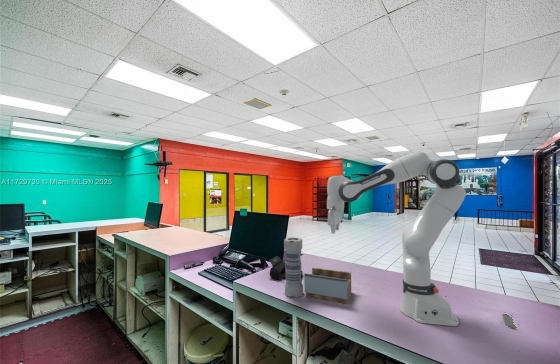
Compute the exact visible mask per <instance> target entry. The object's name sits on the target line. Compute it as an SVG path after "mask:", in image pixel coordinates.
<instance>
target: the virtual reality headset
mask: <svg viewBox="0 0 560 364" xmlns="http://www.w3.org/2000/svg"><path fill="white" fill-rule="evenodd" d="M269 263H270V264H271V268H270V269H269V276H270V278H272V279H276V280H278V281H280V280H284V281H286V266H285V261H282V259H281V258H280V257H279V256H278V255H277V256H274V257H273V258H271V259H269ZM301 279H302V280H303V279H304V273H303V270H302V271H301Z"/></svg>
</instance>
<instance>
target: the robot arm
mask: <svg viewBox="0 0 560 364" xmlns="http://www.w3.org/2000/svg"><path fill="white" fill-rule="evenodd" d="M418 176H423V177H424V178H425V179H426V180H427V181H428V182H430V183H431V184H434V185H435V187H436V188H435V191H434V193H433V195H431V197H430V199H429V200H428V201H427V202H426V204H425V205H424V207H422V209H421V210H420V211H419V212H418V214H417V216H416V218H415V220H414V222H413V223H412V225H411V226H408V227H406V228H405V229H404V230H403V231H402V235H401V236H402V238H401V240H402V241H401V242H402V269H403V270H402V273H403V278H402V284H401V285H402V286H401V287H402V293H403V294H402V300H401V303H400V304H401V305H400V311H401V313H402V314H404V315H405V316H408V317H409V318H411V319H413V320H414V321H416V322H417V323H420V324H429V325H441V326H449V327H457V326H459V324H460V323H459V322H460V321H459V320H460V319H459V317H458V315H457V314H456V313H455V312H454V311H453V310H452V307H451V305H450V303H449V302H448V300H447V299H446V298H444V297H443V296H441V294H439V292H440V290H439V288H438V287H437V285H435V284H434V283H433V282H432V281H431V280H432V279H431V276H432V275H431V260H430V252H431V249H432V248H433V246H434V245H435V243H436V241H437V240H438V239H439V237H440V235H441V233H442V231H443V230H444V228H445V227H446V226H447V224H448V223H449V221H451V219H452V218H453V216H454V215H455V213H457V212H458V210H459V209H460V207H461V205H462V204H463V202H464V201H465V198H466V195H467V194H466V193H467V192H466V190H465V188H464V187H463V186H461V185H460V184H459V183H460V168H459V166H458V164H457V163H456V162H454V161H453V160H450V159H445V158H444V159H439V160H435V161H434V160H431V159H430V157H429V155H427V154H426V152H424V151H415V152H412V153H411V152H410V153H408V154H406V155H403V156H401V157H399V158H396V159H394V160H392V161H390V162H389V163H387V164H385V166H383V167H382V168H381V169H379V170H378V171H376V172H374V173H373V174H370V175H368V176H365V177H363V178H361V179H358V180H351V179H349V178H347V177H345V175H343V174H337V175H336V174H335V175H332V176H330V177H329V178H328V180H327V184H326V185H327V186H326V187H327V188H326V189H327V191H326V192H327V198H326V209H327V210H328V212H327V225H328V226H329V227H330V230H331V232H330V233H331V234H333V235H334V234H336V231H339V230H340V222H342V220H343V214H344V209H345V203H352V202H353V203H354V202H356V201H357V200H358V199H360V198H361V197H362V196H363V194H365V193H367V192H368V191H371V190H373V189H376V188H378V187H381V186H386V185H392V184H393V185H394V184H399V183H401V182H406V181H408V180H411V179H412V178H415V177H418Z"/></svg>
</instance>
